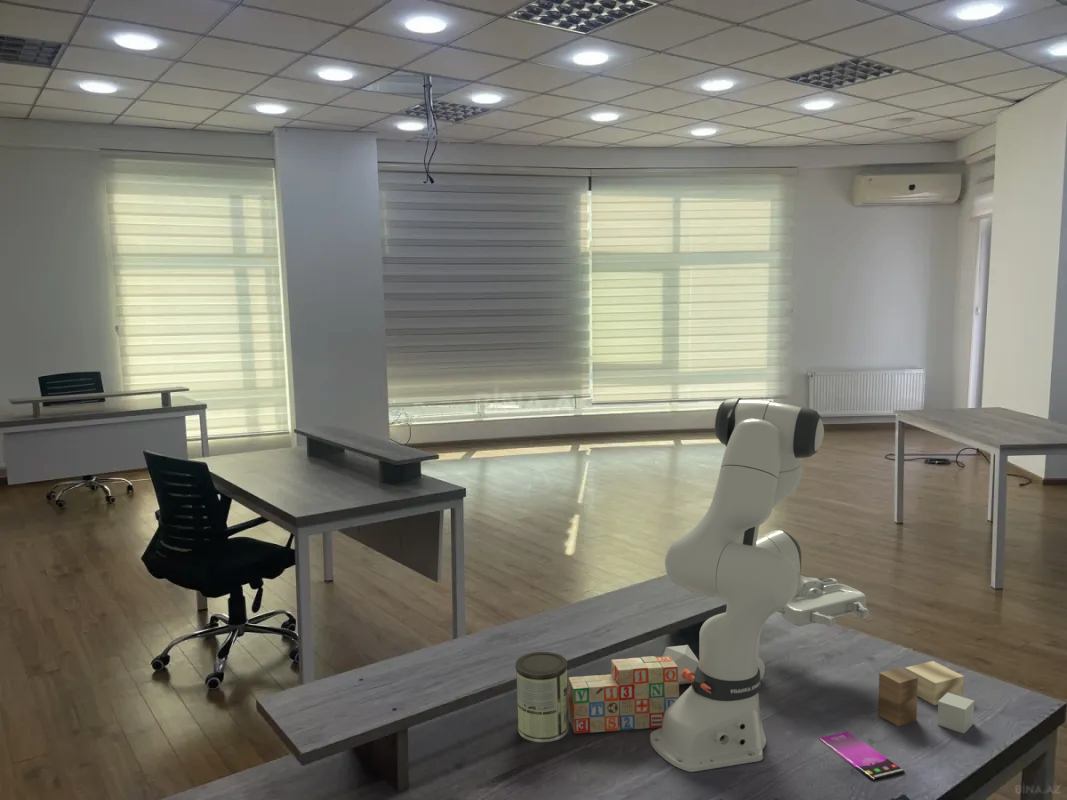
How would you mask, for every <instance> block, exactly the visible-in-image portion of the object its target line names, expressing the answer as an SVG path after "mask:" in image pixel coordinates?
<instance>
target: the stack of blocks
mask: <svg viewBox="0 0 1067 800" xmlns="http://www.w3.org/2000/svg"><path fill="white" fill-rule="evenodd" d="M662 656H663V655H662ZM662 656H655V655H654V656H653V655H651V656H640V657H629V658H619V659H618V658H617V659H611V660H610V662H611V670H610V671H611V674H610V673H609V674H601V675H599V674H598V675H584V676H570V677H568V707H569V708H568V711H569V712H568V714H569V722H570V725H571V728H572V730H573V732H574V734H584V733H602V732H615V731H625V730H626V731H627V730H642V729H656V728H657V729H660V728H662V723H663V717H664V713H665V711H666V709H667V708H668V707H669V706H670V705H672V704H673V703H674V702H675V701H676V700H677V699H678V698H679V697H680V690H679V689H680V685H679V681H678V666H677V665H676V664H675V662H674V661H673V660H672V659H671V657H670V656H663V657H662Z"/></svg>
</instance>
